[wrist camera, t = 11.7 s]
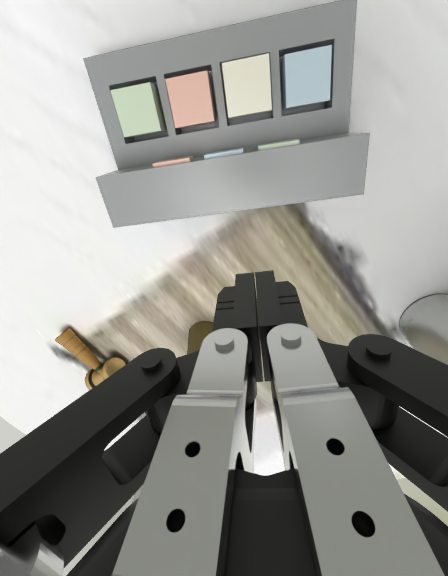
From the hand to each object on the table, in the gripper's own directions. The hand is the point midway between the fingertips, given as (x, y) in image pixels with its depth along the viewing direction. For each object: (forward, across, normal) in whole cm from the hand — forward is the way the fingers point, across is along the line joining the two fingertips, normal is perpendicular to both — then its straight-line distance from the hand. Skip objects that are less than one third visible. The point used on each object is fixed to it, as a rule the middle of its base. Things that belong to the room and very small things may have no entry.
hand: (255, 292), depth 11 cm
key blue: (+26, -6, -9) cm, 28 cm away
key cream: (+24, -1, -9) cm, 25 cm away
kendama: (+27, +30, +28) cm, 50 cm away
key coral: (+26, +5, -9) cm, 27 cm away
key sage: (+25, +10, -9) cm, 29 cm away
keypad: (+27, +2, -6) cm, 28 cm away
